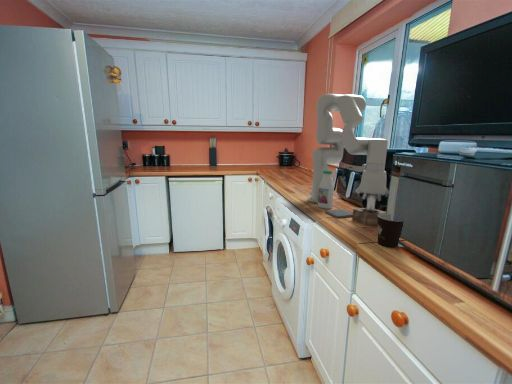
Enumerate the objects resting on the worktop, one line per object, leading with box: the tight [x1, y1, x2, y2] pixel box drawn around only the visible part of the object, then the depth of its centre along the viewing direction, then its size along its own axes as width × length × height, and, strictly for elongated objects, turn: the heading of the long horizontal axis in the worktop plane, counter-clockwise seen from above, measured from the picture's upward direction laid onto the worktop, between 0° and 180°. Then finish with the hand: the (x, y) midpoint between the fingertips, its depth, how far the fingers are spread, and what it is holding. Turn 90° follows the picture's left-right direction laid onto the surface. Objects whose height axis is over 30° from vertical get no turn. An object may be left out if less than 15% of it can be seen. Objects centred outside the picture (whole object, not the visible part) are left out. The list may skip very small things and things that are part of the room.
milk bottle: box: [317, 169, 335, 210], centre depth 138 cm, size 8×8×20 cm
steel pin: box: [365, 193, 378, 213], centre depth 116 cm, size 4×4×13 cm
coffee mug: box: [377, 213, 404, 249], centre depth 92 cm, size 12×9×10 cm
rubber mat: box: [324, 208, 353, 219], centre depth 127 cm, size 10×10×1 cm
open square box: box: [351, 207, 387, 227], centre depth 117 cm, size 10×10×5 cm
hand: (370, 207), depth 116 cm, fingers closed on steel pin, 4 cm apart
